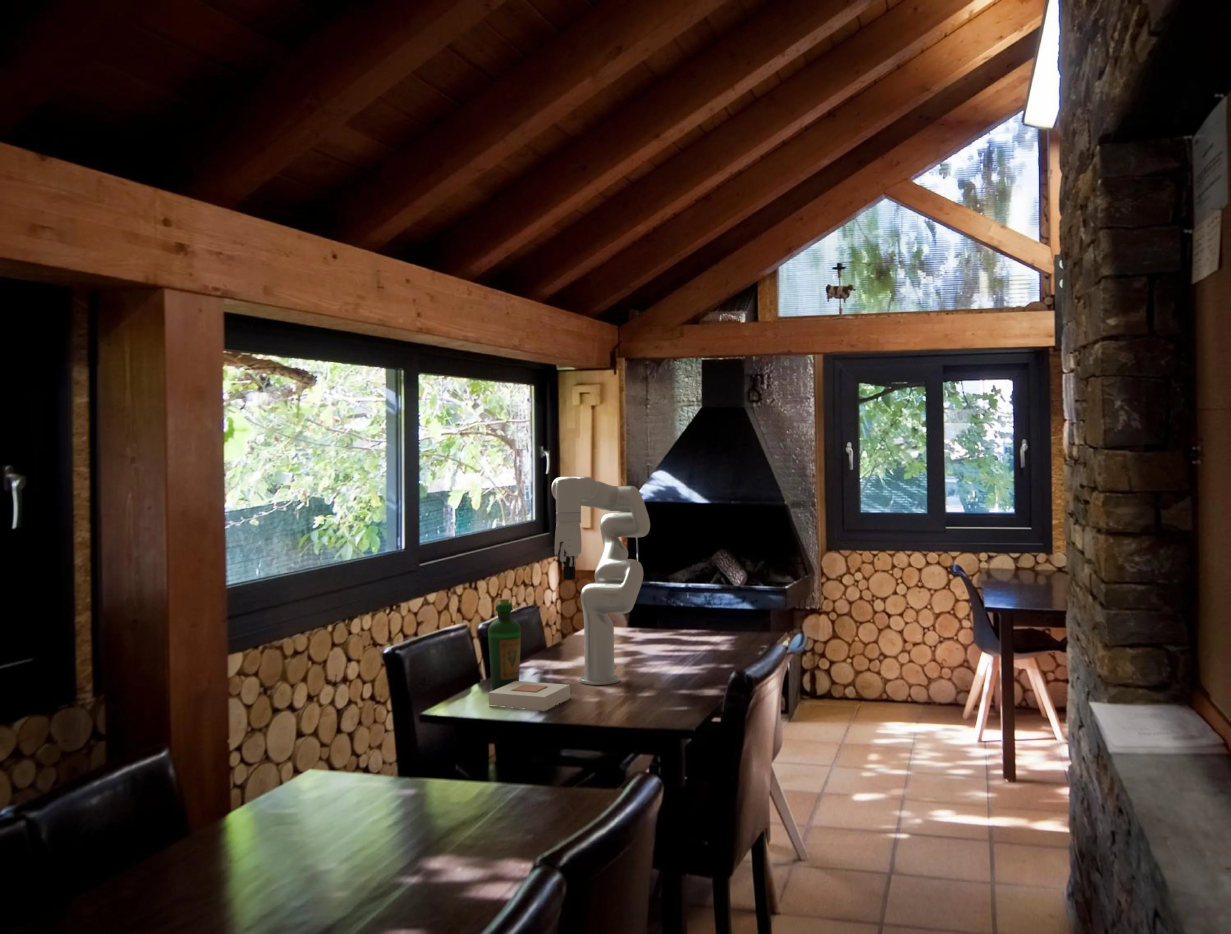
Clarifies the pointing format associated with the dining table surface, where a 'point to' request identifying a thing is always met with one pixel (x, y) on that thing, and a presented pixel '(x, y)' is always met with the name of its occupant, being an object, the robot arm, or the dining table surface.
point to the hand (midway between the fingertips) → (569, 579)
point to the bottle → (504, 646)
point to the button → (530, 688)
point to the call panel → (530, 696)
